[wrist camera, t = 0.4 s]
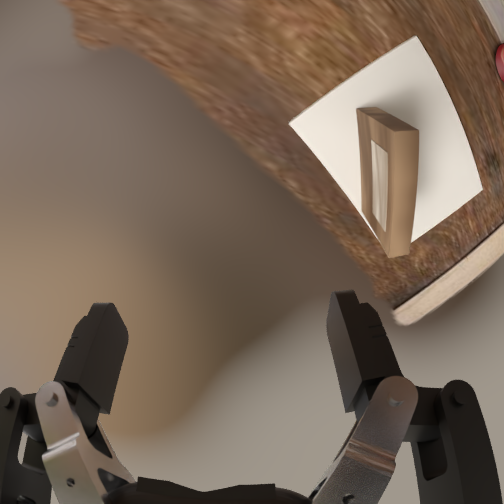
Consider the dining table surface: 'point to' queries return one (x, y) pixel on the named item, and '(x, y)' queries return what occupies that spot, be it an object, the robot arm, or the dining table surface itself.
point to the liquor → (500, 61)
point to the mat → (408, 110)
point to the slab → (388, 177)
